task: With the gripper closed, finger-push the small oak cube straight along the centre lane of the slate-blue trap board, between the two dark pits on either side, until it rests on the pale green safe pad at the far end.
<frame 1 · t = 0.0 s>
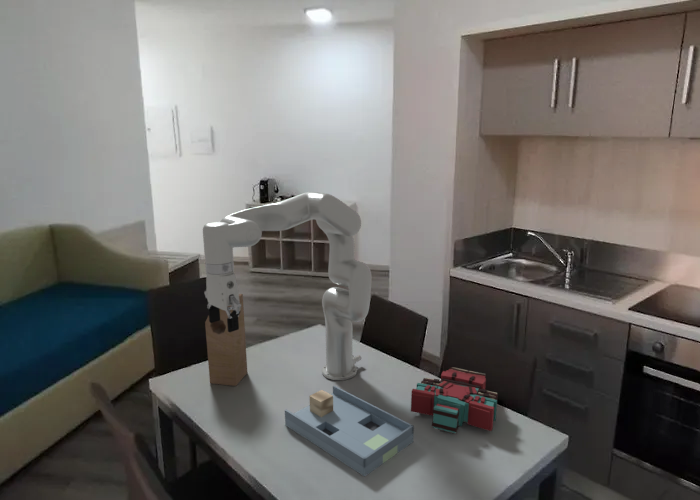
hand: (223, 325, 139), 31 cm above the table, fingers open, 9 cm apart
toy: (456, 411, 153), on the table
decorative block: (229, 378, 174), on the table
trap board: (347, 433, 142), on the table
oak block: (321, 410, 149), point 2 cm above the table, touching trap board
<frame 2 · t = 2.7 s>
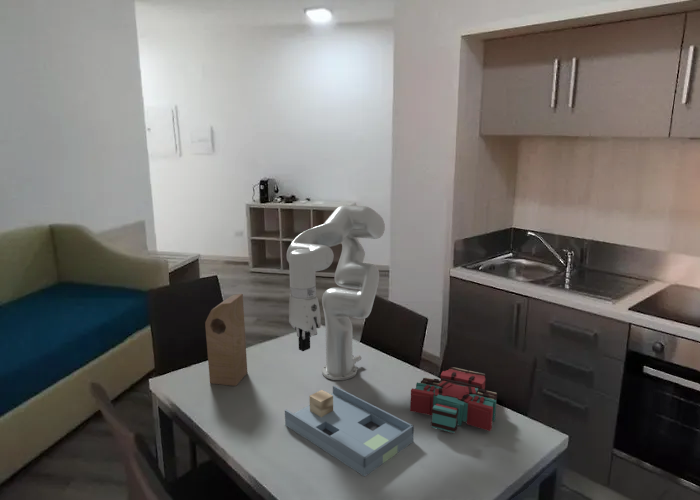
hand: (304, 349, 149), 20 cm above the table, fingers closed
nothing on the table moved.
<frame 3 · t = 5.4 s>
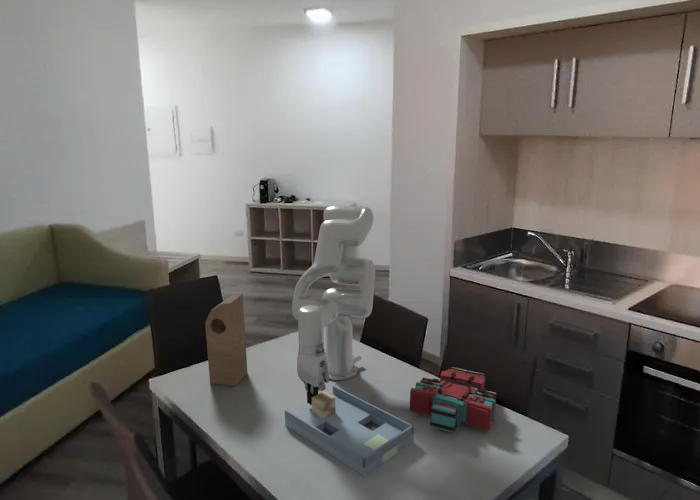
hand: (312, 402, 151), 4 cm above the table, fingers closed
oak block: (323, 412, 148), point 3 cm above the table, touching gripper
everything else where it was.
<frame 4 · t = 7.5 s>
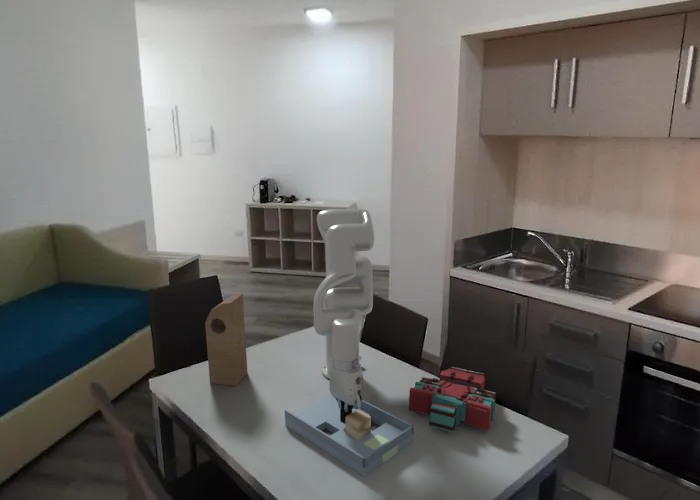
hand: (346, 420, 141), 4 cm above the table, fingers closed
oak block: (358, 432, 138), point 3 cm above the table, touching gripper
everything else where it was.
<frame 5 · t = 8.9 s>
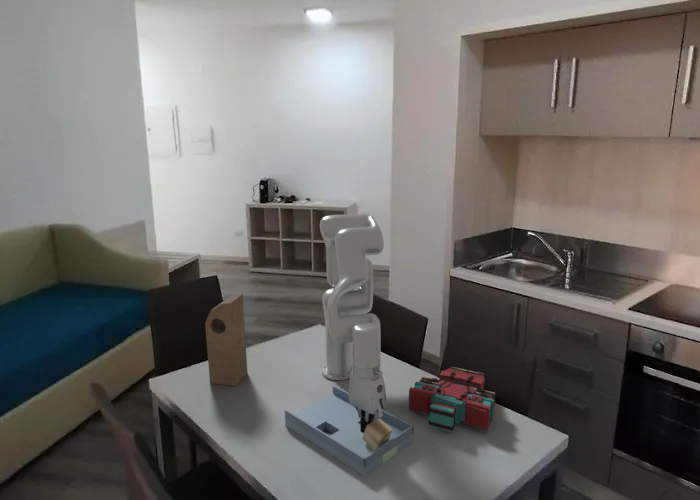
hand: (366, 430, 135), 5 cm above the table, fingers closed
oak block: (375, 441, 133), point 3 cm above the table, tilted 18°, touching gripper
everything else where it was.
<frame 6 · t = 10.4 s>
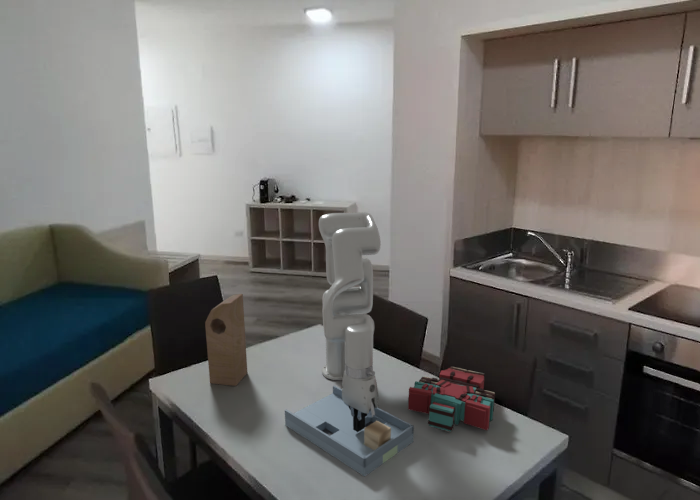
hand: (359, 428, 138), 3 cm above the table, fingers closed
oak block: (377, 444, 133), point 2 cm above the table, touching trap board
everything else where it was.
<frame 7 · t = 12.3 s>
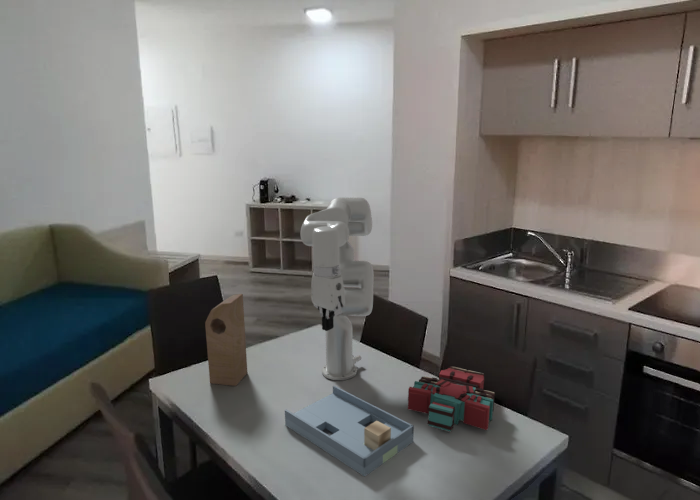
hand: (327, 328, 146), 28 cm above the table, fingers closed
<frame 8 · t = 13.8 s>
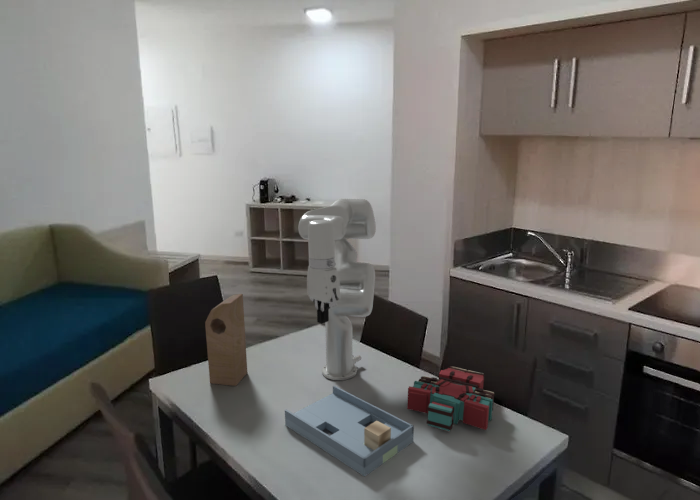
hand: (323, 321, 147), 29 cm above the table, fingers closed
at the end: oak block inside the target area on the trap board (1.0 cm from its centre), point 2.5 cm above the trap board's base; oak block point 2.5 cm above the table; oak block tilted 0° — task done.
